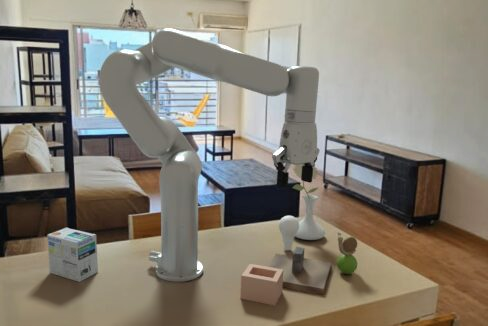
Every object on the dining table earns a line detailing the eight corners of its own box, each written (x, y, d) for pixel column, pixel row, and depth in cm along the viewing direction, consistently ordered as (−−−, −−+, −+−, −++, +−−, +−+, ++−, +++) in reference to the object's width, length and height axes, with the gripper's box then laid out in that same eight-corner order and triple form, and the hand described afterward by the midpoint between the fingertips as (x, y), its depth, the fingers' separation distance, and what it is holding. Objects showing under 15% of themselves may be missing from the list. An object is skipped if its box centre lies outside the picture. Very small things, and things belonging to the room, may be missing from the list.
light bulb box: (98, 272, 115) (97, 233, 113) (79, 283, 109) (77, 242, 107) (68, 263, 119) (66, 226, 117) (48, 273, 113) (46, 234, 111)
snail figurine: (329, 270, 121) (332, 229, 118) (348, 267, 123) (352, 226, 121) (340, 279, 116) (344, 236, 113) (360, 275, 118) (364, 233, 116)
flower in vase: (331, 237, 145) (337, 163, 140) (311, 246, 137) (317, 168, 132) (299, 226, 154) (304, 157, 149) (279, 234, 146) (283, 161, 141)
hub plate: (260, 282, 112) (261, 257, 111) (275, 258, 127) (276, 235, 126) (322, 294, 108) (325, 268, 106) (330, 267, 123) (332, 244, 121)
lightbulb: (298, 254, 130) (300, 219, 128) (278, 254, 130) (279, 219, 128) (296, 246, 136) (298, 213, 134) (276, 245, 136) (278, 212, 134)
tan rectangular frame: (275, 305, 102) (276, 281, 101) (240, 298, 104) (241, 275, 103) (282, 291, 108) (283, 269, 107) (248, 285, 111) (249, 263, 109)
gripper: (288, 120, 100) (283, 192, 103) (332, 117, 112) (326, 182, 115) (265, 116, 105) (260, 185, 109) (309, 114, 117) (304, 176, 120)
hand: (294, 184), depth 112 cm, fingers open, 9 cm apart
